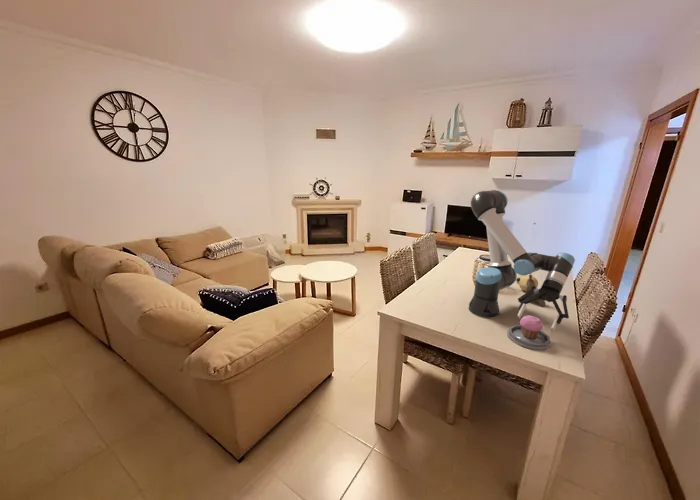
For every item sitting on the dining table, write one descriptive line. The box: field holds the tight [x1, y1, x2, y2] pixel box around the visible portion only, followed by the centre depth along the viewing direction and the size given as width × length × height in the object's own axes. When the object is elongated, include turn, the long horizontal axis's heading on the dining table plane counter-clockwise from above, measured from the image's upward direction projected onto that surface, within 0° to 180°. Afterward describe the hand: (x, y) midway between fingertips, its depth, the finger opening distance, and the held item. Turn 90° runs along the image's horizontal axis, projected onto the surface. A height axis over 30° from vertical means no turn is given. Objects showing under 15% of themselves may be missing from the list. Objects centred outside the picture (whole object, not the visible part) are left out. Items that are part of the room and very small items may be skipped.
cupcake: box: [519, 315, 544, 339], centre depth 131 cm, size 9×9×10 cm
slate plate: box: [506, 324, 552, 351], centre depth 133 cm, size 17×17×2 cm
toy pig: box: [515, 274, 539, 292], centre depth 184 cm, size 10×12×11 cm
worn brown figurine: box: [525, 273, 546, 308], centre depth 168 cm, size 12×6×18 cm, turn 36°
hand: (534, 322), depth 130 cm, fingers open, 13 cm apart
